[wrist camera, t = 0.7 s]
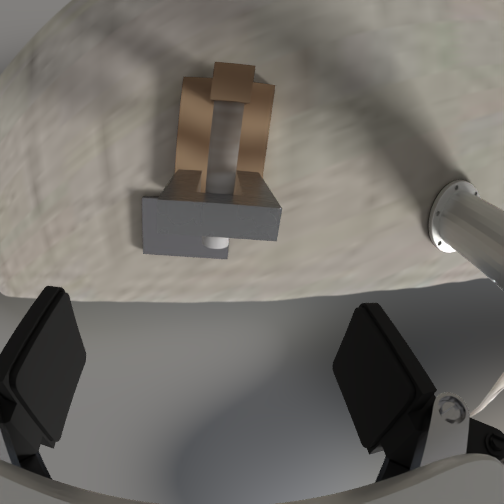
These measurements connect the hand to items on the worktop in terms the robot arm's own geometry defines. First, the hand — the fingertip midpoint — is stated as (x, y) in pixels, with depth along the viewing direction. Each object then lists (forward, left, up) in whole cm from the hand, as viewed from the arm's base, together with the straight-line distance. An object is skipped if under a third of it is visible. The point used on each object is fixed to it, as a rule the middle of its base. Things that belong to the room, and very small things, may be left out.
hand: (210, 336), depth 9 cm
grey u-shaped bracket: (0, 0, -21) cm, 21 cm away
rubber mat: (+3, +8, -27) cm, 29 cm away
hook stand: (0, -3, -27) cm, 28 cm away
